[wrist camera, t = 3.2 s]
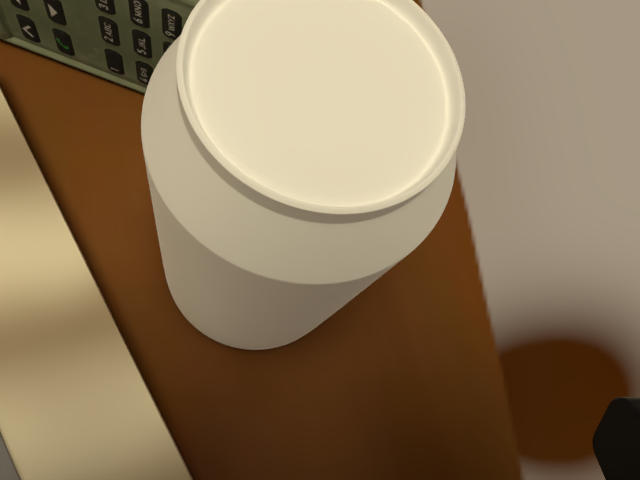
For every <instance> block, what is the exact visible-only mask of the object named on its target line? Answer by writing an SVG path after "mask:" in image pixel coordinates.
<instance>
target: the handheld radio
mask: <svg viewBox="0 0 640 480" xmlns="http://www.w3.org/2000/svg"><path fill="white" fill-rule="evenodd" d="M199 1H200V0H0V39H2V40H4V41H7V42H9V43H12V44H15V45H17V46H20V47H23V48H25V49H28V50H30V51H33V52H36V53H38V54H41V55H44V56H46V57H49V58H51V59H54V60H57V61H59V62H62V63H65V64H67V65H70V66H72V67H75V68H78V69H80V70H83V71H86V72H88V73H91V74H93V75H96V76H99V77H101V78H104V79H107V80H109V81H112V82H114V83H117V84H120V85H122V86H125V87H128V88H130V89H133V90H135V91H138V92H141V93H143V94H145V93H146V89H147V86H148V83H149V81H150V78H151V76H152V74H153V72H154V70H155V68H156V66H157V64H158V62H159V61H160V59H161V58H162V56H163V55H164V53H165V52H166V51H167V49H168V48H169V47H170V46H171V45H172V43H173V42H174V41H175V40H176V39H177V38H178V37H179V36H180V35H181V33H182V30H183V28H184V25H185V23H186V21H187V19H188V17H189V15H190V14H191V12H192V10H193V9H194V7H195V6H196V5H197V3H198V2H199Z"/></svg>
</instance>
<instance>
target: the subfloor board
mask: <svg viewBox="0 0 640 480" xmlns="http://www.w3.org/2000/svg"><path fill="white" fill-rule="evenodd" d="M0 480H193V479H192V477H191V475H190V473H189V471H188V469H187V467H186V464H185V462H184V460H183V458H182V456H181V454H180V452H179V450H178V448H177V446H176V444H175V442H174V440H173V438H172V436H171V434H170V432H169V430H168V428H167V426H166V424H165V422H164V420H163V418H162V415H161V413H160V411H159V409H158V407H157V405H156V403H155V401H154V399H153V397H152V395H151V393H150V391H149V389H148V387H147V385H146V383H145V381H144V379H143V377H142V375H141V373H140V371H139V369H138V366H137V364H136V362H135V360H134V358H133V356H132V354H131V352H130V350H129V348H128V346H127V344H126V342H125V340H124V338H123V336H122V334H121V332H120V330H119V328H118V326H117V324H116V322H115V320H114V317H113V315H112V313H111V311H110V309H109V307H108V305H107V303H106V301H105V299H104V297H103V295H102V293H101V291H100V289H99V287H98V285H97V283H96V281H95V279H94V277H93V275H92V273H91V271H90V269H89V266H88V264H87V262H86V260H85V258H84V256H83V254H82V252H81V250H80V248H79V246H78V244H77V242H76V240H75V238H74V236H73V234H72V232H71V230H70V228H69V226H68V224H67V222H66V220H65V217H64V215H63V213H62V211H61V209H60V207H59V205H58V203H57V201H56V199H55V197H54V195H53V193H52V191H51V189H50V187H49V185H48V183H47V181H46V179H45V177H44V175H43V173H42V171H41V168H40V166H39V164H38V162H37V160H36V158H35V156H34V154H33V152H32V150H31V148H30V146H29V144H28V142H27V140H26V138H25V136H24V134H23V132H22V130H21V128H20V126H19V124H18V122H17V119H16V117H15V115H14V113H13V111H12V109H11V107H10V105H9V103H8V101H7V99H6V97H5V95H4V93H3V91H2V89H1V87H0Z"/></svg>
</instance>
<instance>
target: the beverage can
mask: <svg viewBox="0 0 640 480" xmlns="http://www.w3.org/2000/svg"><path fill="white" fill-rule="evenodd" d="M464 119H465V91H464V85H463V80H462V76H461V72H460V69H459V66H458V63H457V60H456V58H455V56H454V54H453V51H452V50H451V47H450V45H449V44H448V42H447V40H446V39H445V37H444V35H443V34H442V32H441V31H440V30H439V28H438V27H437V25H435V23H434V22H433V21H432V19H431V18H430V17H429V16H428V15H427V14H426V13H425V12H424V11H423V10H422V9H421V8H420V7H419V6H418V5H417V4H416V3H415V2H414V1H413V0H200V1H199V2H198V3H197V5H196V6H195V7H194V9H193V10H192V12H191V14H190V15H189V17H188V19H187V21H186V23H185V25H184V28H183V30H182V33H181V35H180V36H179V37H178V38H177V39H176V40H175V41H174V42H173V43H172V45H171V46H170V47H169V48H168V49H167V51H166V52H165V53H164V55H163V56H162V58H161V59H160V61H159V62H158V64H157V66H156V68H155V70H154V72H153V74H152V76H151V78H150V81H149V83H148V86H147V89H146V93H145V97H144V101H143V107H142V116H141V137H142V146H143V152H144V158H145V164H146V170H147V176H148V181H149V187H150V193H151V199H152V204H153V210H154V216H155V221H156V227H157V233H158V239H159V244H160V250H161V255H162V261H163V266H164V271H165V276H166V280H167V284H168V287H169V290H170V293H171V295H172V297H173V299H174V301H175V303H176V305H177V307H178V308H179V310H180V311H181V313H182V314H183V315H184V317H185V318H186V319H187V320H188V321H189V322H190V323H191V324H192V325H193V326H194V327H195V328H196V329H198V330H199V331H200V332H202V333H203V334H205V335H206V336H208V337H209V338H211V339H213V340H215V341H217V342H219V343H222V344H225V345H227V346H231V347H235V348H240V349H248V350H263V349H271V348H276V347H280V346H283V345H286V344H289V343H291V342H293V341H295V340H297V339H299V338H301V337H303V336H304V335H306V334H308V333H309V332H310V331H312V330H313V329H315V328H316V327H317V326H318V325H320V324H321V323H322V322H324V321H325V320H326V319H327V318H329V317H330V316H331V315H333V314H334V313H335V312H336V311H338V310H339V309H340V308H342V307H343V306H344V305H345V304H347V303H348V302H349V301H350V300H352V299H353V298H354V297H355V296H357V295H358V294H359V293H360V292H362V291H363V290H364V289H366V288H367V287H368V286H369V285H371V284H372V283H373V282H374V281H376V280H377V279H378V278H379V277H381V276H382V275H383V274H384V273H386V272H387V271H388V270H389V269H391V268H392V267H393V266H395V265H396V264H397V263H398V262H400V261H401V260H402V259H403V258H405V257H406V256H407V255H408V254H409V253H411V252H412V251H413V250H414V249H415V248H416V247H417V246H418V245H419V244H420V243H421V242H422V241H423V240H424V239H425V238H426V237H427V236H428V234H429V233H430V232H431V231H432V229H433V228H434V226H435V225H436V223H437V222H438V220H439V218H440V217H441V215H442V213H443V211H444V209H445V207H446V204H447V202H448V199H449V196H450V193H451V190H452V185H453V181H454V175H455V166H456V148H457V145H458V143H459V140H460V137H461V134H462V130H463V125H464Z"/></svg>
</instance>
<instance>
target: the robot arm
mask: <svg viewBox="0 0 640 480" xmlns="http://www.w3.org/2000/svg"><path fill="white" fill-rule="evenodd" d="M593 449H594V453H595V455H596V458H597V460H598V462H599V465H600V467H601V469H602V472H603V474H604V477H605V479H606V480H640V398H637V397H618V398H615V399H614V400H612V401H611V402H610V404H609V405H608V407H607V410H606V412H605V413H604V415H603V417H602V419H601V421H600V423H599V425H598V427H597V429H596V431H595V433H594V436H593Z"/></svg>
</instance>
